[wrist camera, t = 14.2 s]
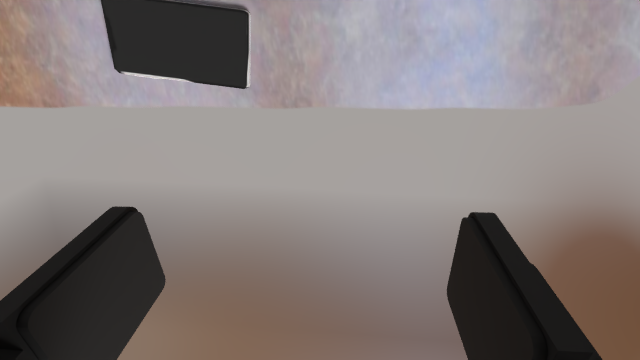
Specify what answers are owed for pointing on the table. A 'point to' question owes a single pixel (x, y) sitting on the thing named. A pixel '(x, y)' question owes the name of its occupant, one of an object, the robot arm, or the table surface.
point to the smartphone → (179, 41)
